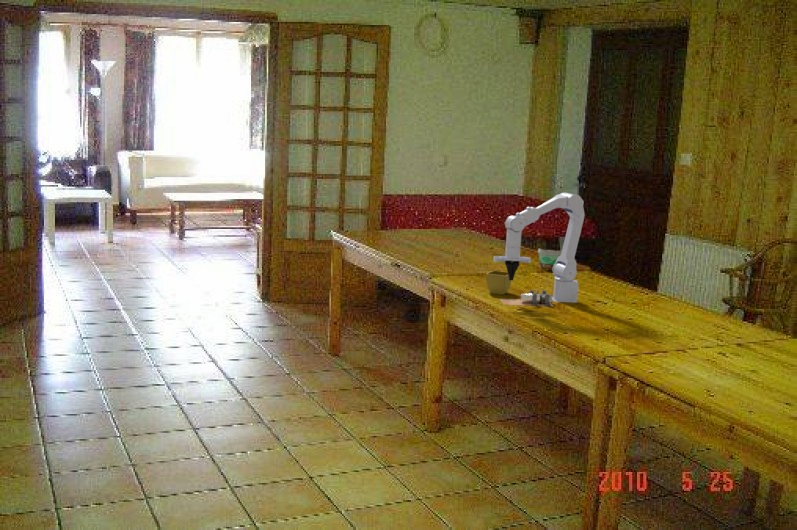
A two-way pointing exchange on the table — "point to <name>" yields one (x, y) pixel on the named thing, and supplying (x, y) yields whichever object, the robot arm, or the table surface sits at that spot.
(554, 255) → the food container
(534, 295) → the rail
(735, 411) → the table surface
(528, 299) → the tube
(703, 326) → the table surface
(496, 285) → the flower pot
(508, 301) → the tile
